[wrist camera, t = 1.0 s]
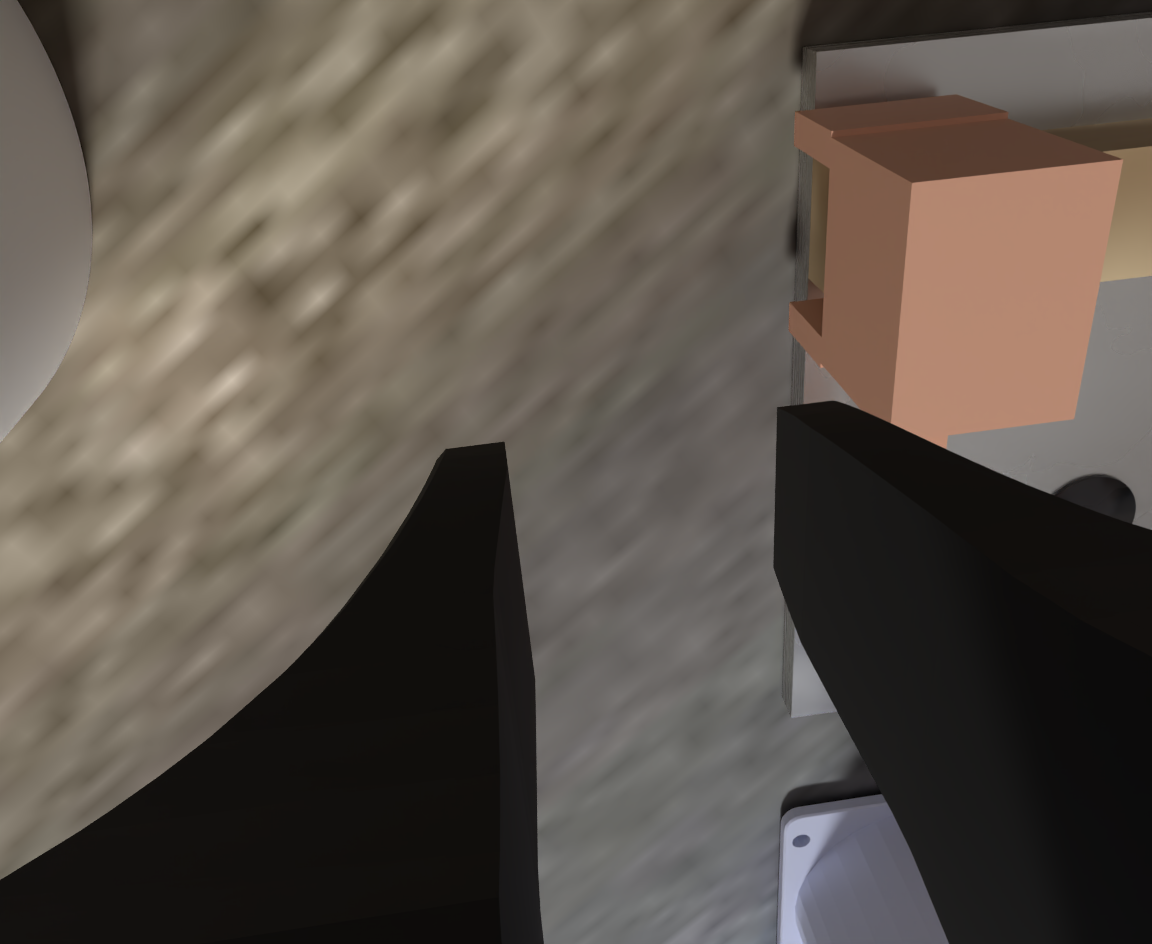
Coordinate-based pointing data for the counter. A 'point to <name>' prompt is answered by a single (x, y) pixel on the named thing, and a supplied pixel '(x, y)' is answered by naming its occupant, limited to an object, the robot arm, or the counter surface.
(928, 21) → the counter surface
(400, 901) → the robot arm
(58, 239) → the canister
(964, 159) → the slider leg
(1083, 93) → the flange plate
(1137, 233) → the bar
